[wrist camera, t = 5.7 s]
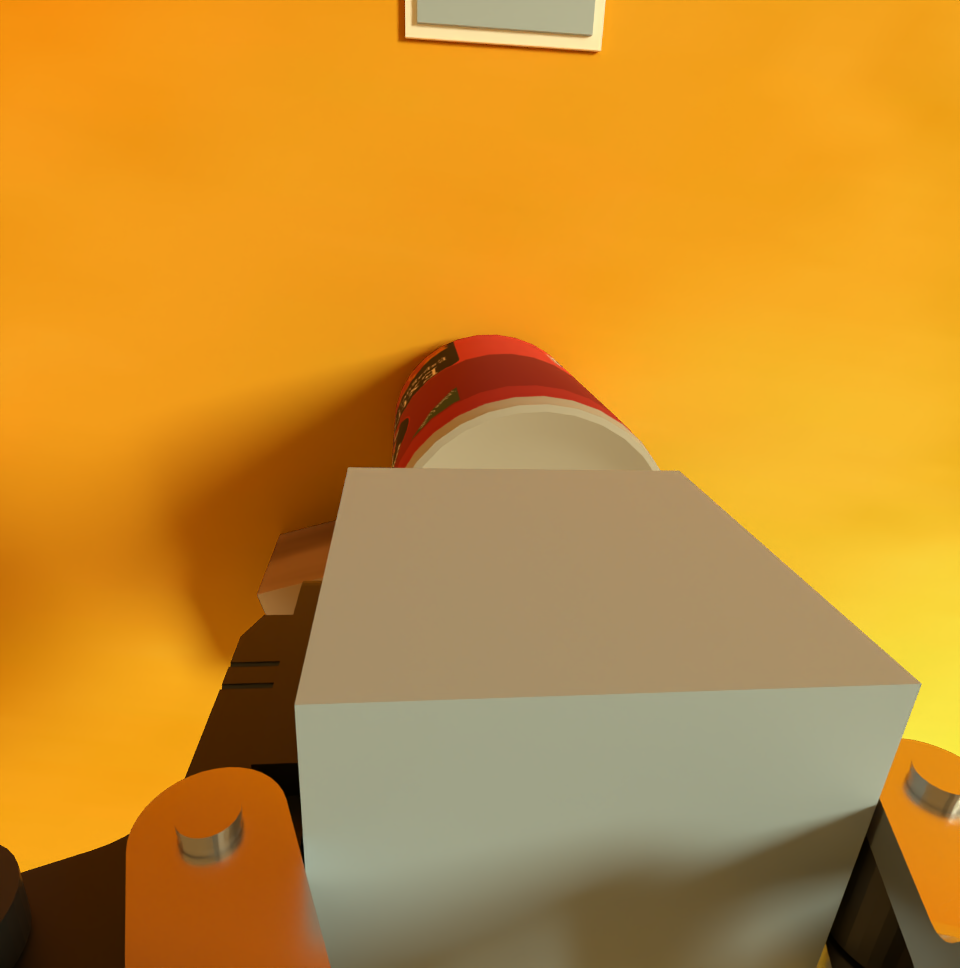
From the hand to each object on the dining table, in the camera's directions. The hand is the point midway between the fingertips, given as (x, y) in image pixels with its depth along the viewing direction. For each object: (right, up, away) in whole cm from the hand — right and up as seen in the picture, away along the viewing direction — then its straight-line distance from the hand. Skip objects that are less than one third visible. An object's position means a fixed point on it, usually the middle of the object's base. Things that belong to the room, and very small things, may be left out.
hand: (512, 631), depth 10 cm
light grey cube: (0, 0, 0) cm, 0 cm away
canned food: (0, +5, +18) cm, 18 cm away
